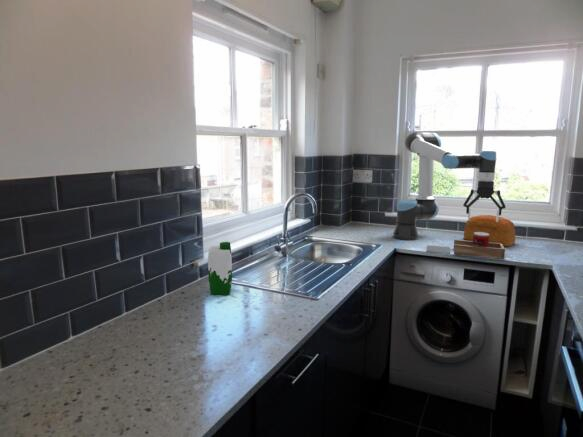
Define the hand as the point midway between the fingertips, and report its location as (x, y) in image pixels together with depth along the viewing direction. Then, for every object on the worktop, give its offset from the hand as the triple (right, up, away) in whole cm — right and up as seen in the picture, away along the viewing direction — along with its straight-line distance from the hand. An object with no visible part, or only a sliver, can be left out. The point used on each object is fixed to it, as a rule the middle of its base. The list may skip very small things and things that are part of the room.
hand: (482, 220), depth 218 cm
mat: (-20, -16, +11) cm, 28 cm away
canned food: (0, -18, +3) cm, 18 cm away
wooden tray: (-1, -17, +4) cm, 18 cm away
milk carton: (-129, -28, -55) cm, 143 cm away
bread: (+18, -13, +31) cm, 38 cm away
